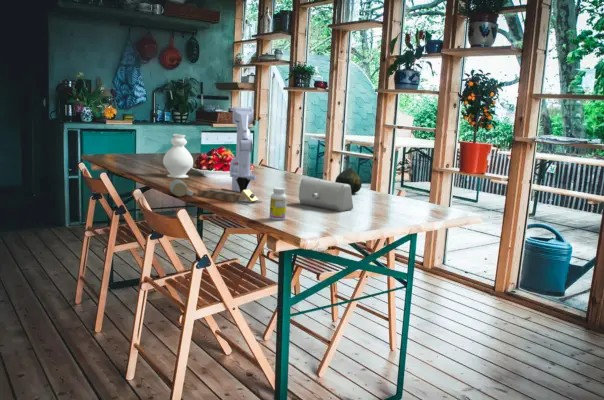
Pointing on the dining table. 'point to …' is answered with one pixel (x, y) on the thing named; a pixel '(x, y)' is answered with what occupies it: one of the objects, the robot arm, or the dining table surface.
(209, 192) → the body
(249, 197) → the lever cap
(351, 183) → the squash
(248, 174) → the robot arm
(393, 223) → the dining table surface
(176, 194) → the ceramic mug
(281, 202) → the supplement bottle
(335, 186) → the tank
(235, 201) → the mat
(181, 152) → the decorative vase
